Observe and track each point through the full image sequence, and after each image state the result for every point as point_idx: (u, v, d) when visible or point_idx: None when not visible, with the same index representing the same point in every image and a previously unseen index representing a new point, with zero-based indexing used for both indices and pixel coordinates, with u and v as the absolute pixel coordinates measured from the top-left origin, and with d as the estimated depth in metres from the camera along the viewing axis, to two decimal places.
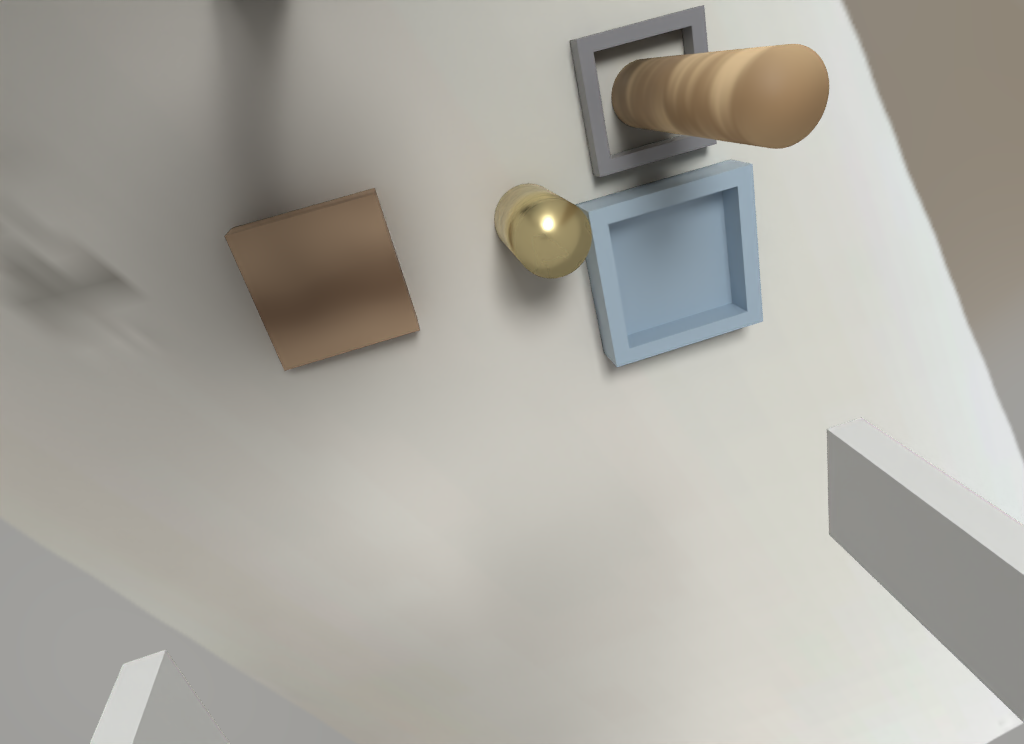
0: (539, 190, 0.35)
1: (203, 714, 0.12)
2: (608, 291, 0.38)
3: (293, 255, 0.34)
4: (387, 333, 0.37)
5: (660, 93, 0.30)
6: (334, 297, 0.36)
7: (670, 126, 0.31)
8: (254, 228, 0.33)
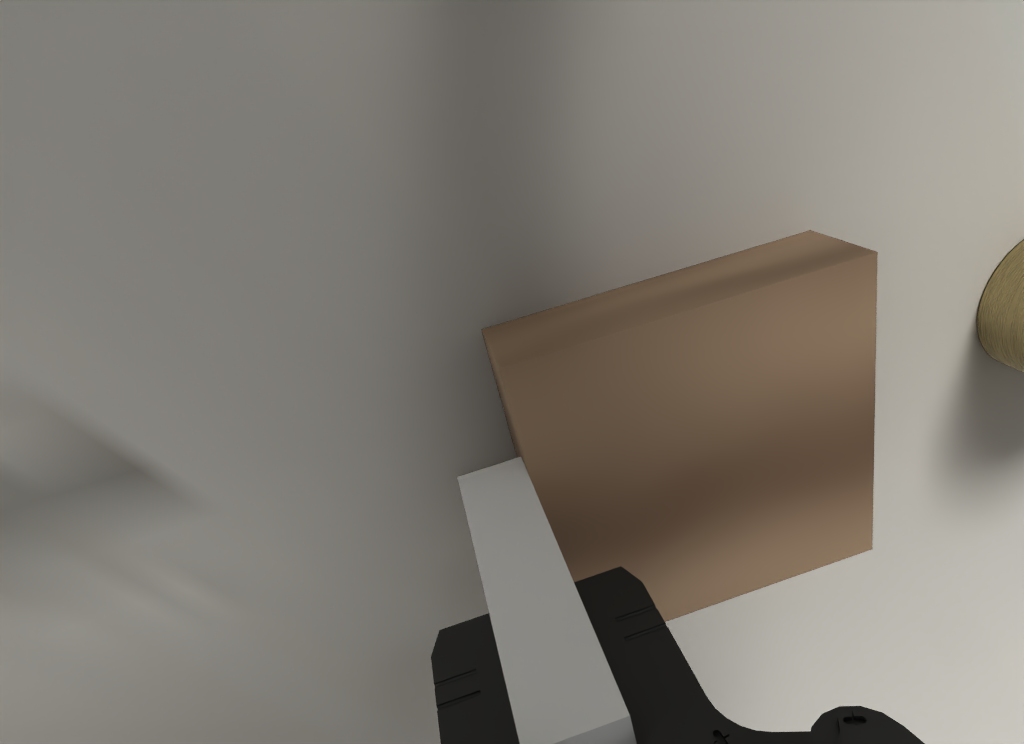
0: None
1: None
2: None
3: (654, 407, 0.13)
4: (807, 560, 0.16)
5: None
6: (719, 495, 0.15)
7: None
8: (575, 345, 0.13)
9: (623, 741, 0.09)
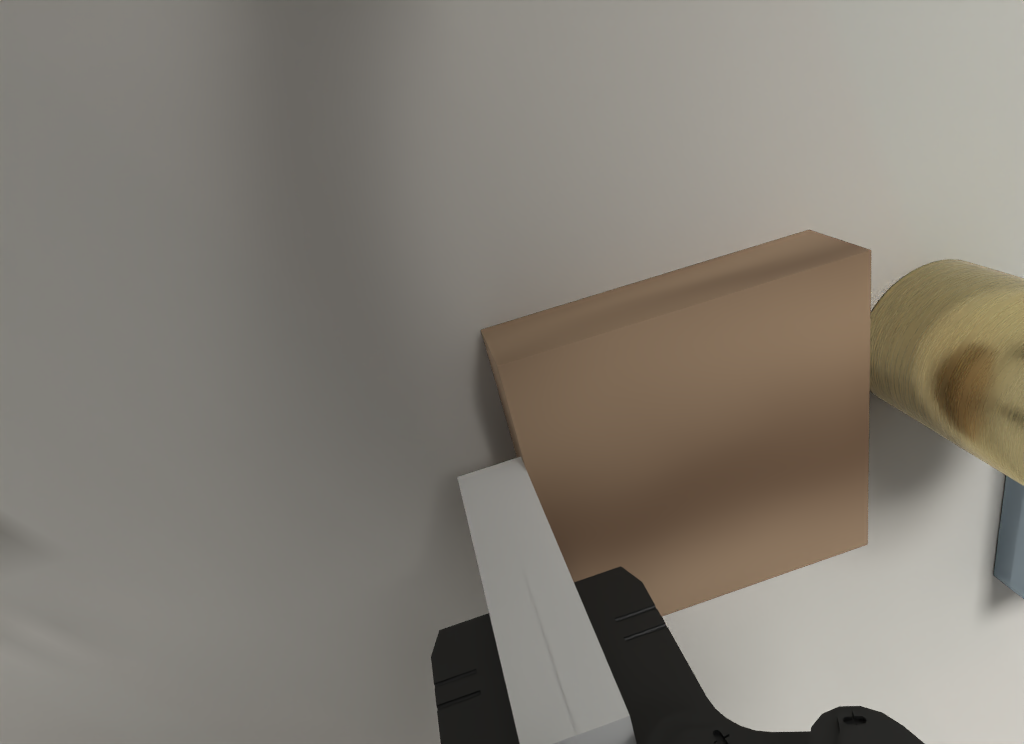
0: None
1: None
2: None
3: (650, 404, 0.14)
4: (802, 556, 0.16)
5: None
6: (715, 491, 0.15)
7: None
8: (572, 343, 0.13)
9: (623, 741, 0.09)
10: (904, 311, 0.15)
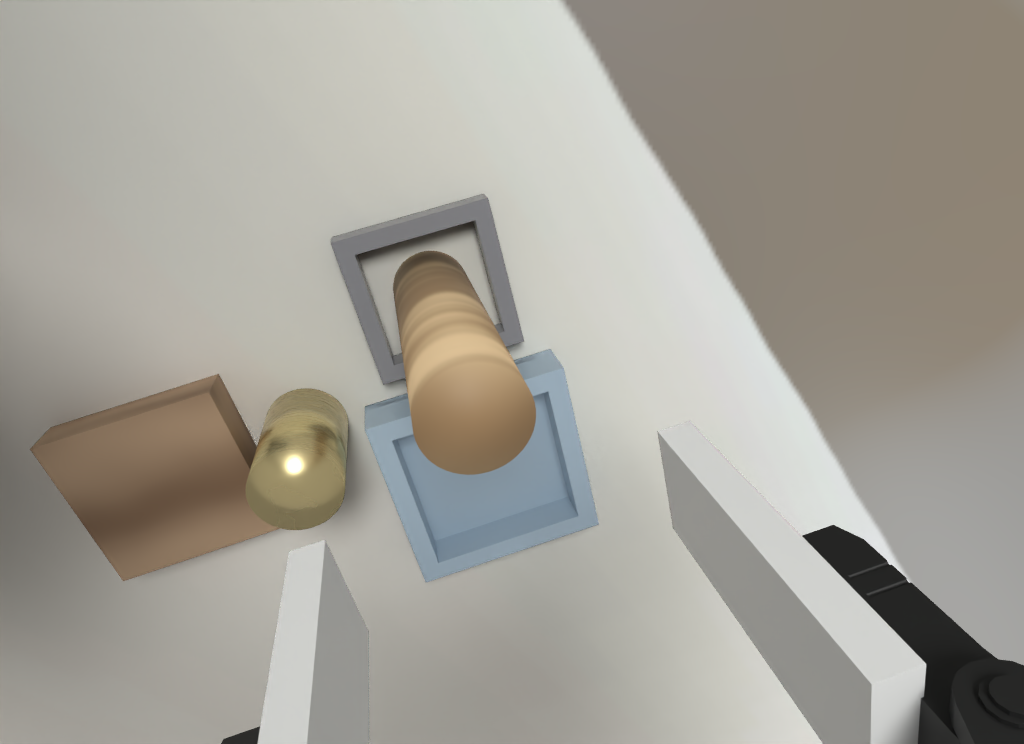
0: (296, 414, 0.29)
1: (351, 600, 0.14)
2: (403, 508, 0.33)
3: (117, 462, 0.29)
4: (242, 534, 0.32)
5: None
6: (173, 502, 0.31)
7: None
8: (65, 438, 0.28)
9: (912, 692, 0.08)
10: (266, 417, 0.31)
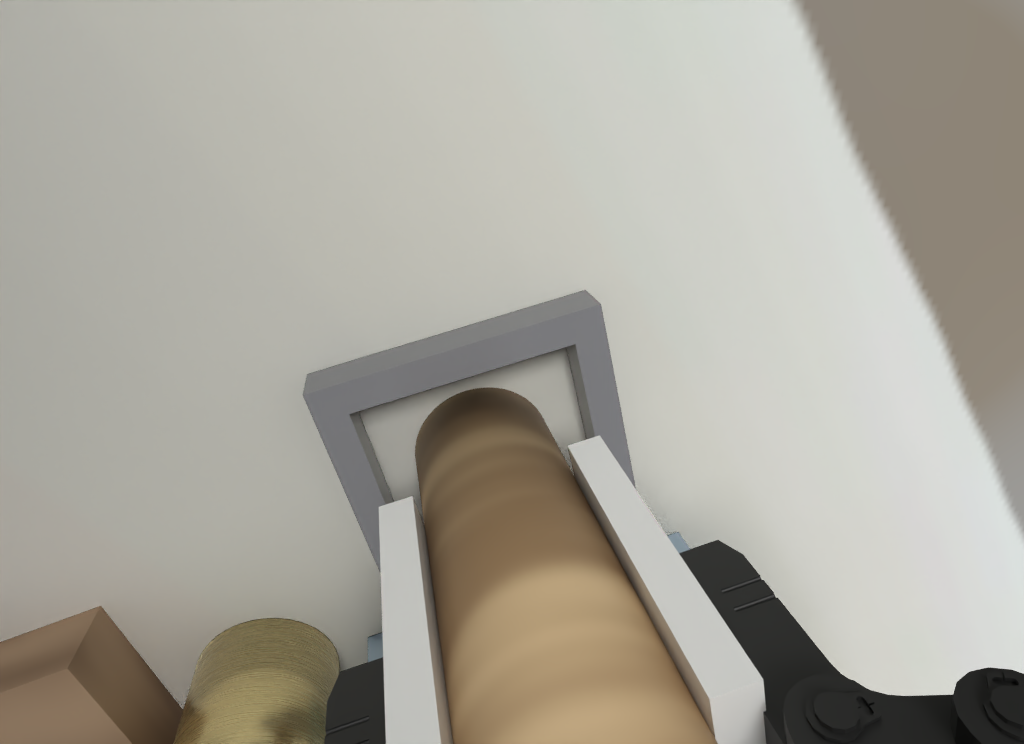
0: (240, 703, 0.16)
1: None
2: None
3: None
4: None
5: (442, 650, 0.11)
6: None
7: None
8: None
9: (753, 706, 0.09)
10: (194, 678, 0.18)
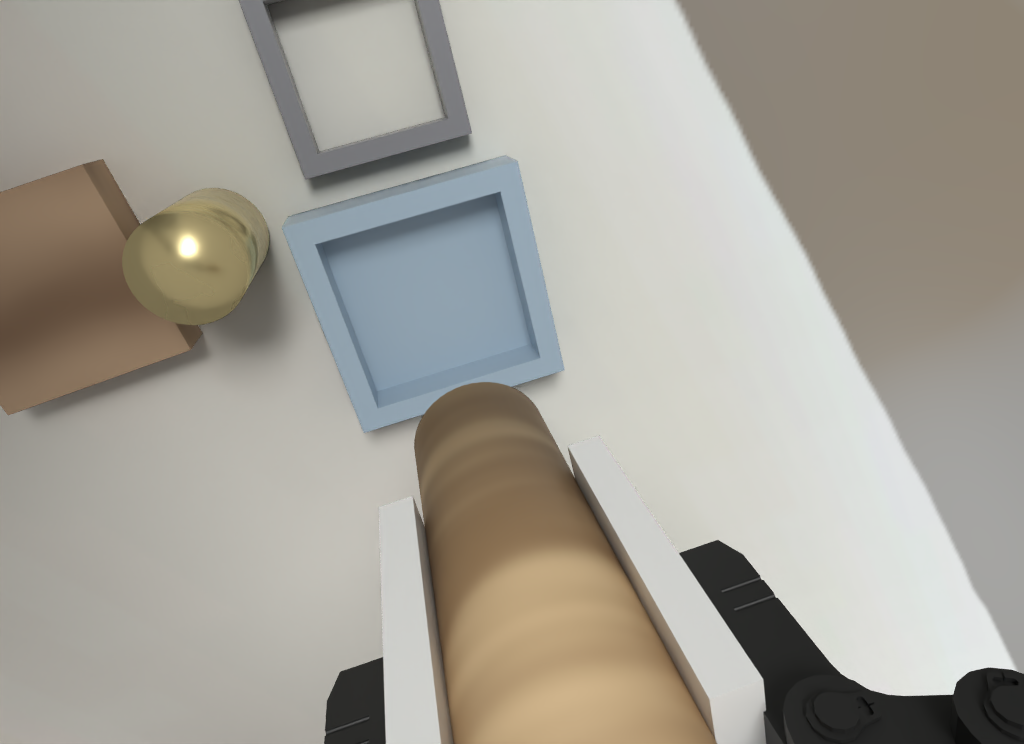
0: (196, 198, 0.25)
1: None
2: (332, 334, 0.28)
3: None
4: (145, 357, 0.27)
5: (440, 633, 0.11)
6: (56, 313, 0.26)
7: None
8: None
9: (753, 706, 0.09)
10: None
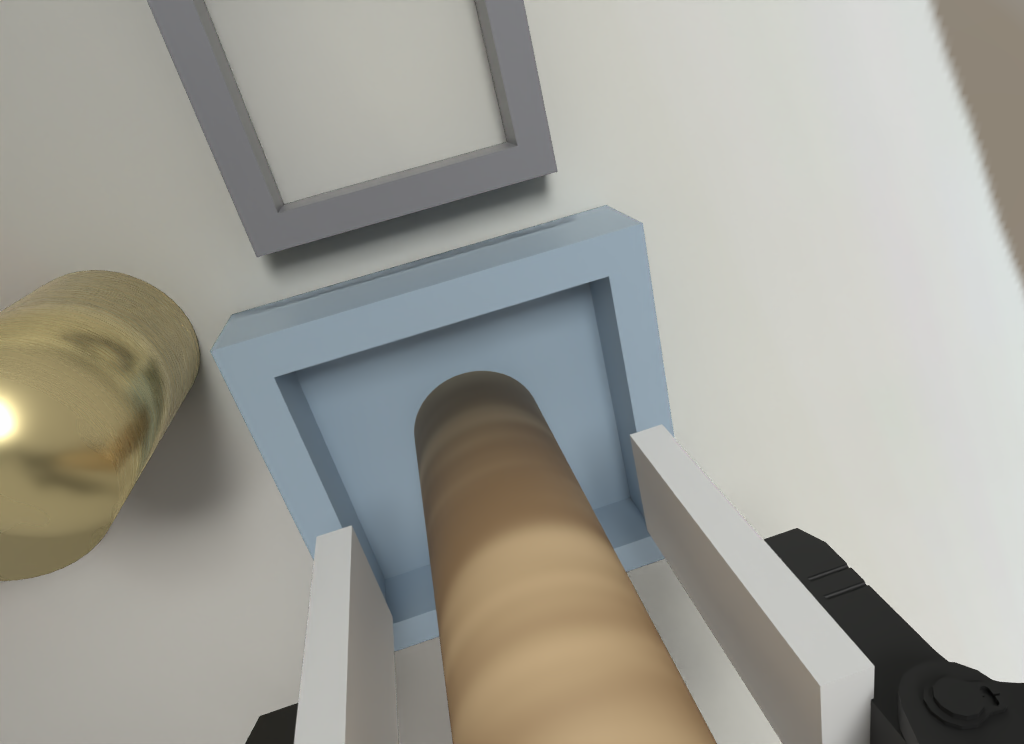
0: (35, 306, 0.13)
1: (376, 585, 0.14)
2: (309, 521, 0.16)
3: None
4: None
5: (436, 604, 0.12)
6: None
7: None
8: None
9: (862, 693, 0.08)
10: None
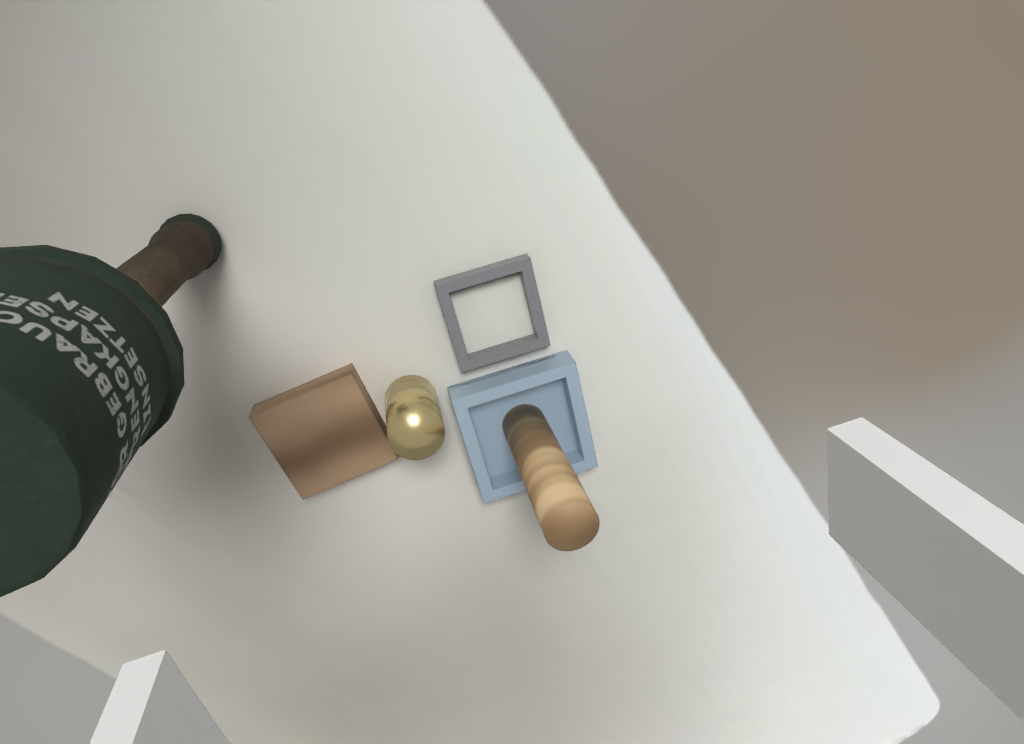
0: (411, 390, 0.47)
1: (203, 714, 0.12)
2: (472, 452, 0.51)
3: (299, 422, 0.48)
4: (374, 464, 0.50)
5: (519, 467, 0.47)
6: (331, 446, 0.49)
7: None
8: (269, 409, 0.47)
9: None
10: (388, 393, 0.49)
